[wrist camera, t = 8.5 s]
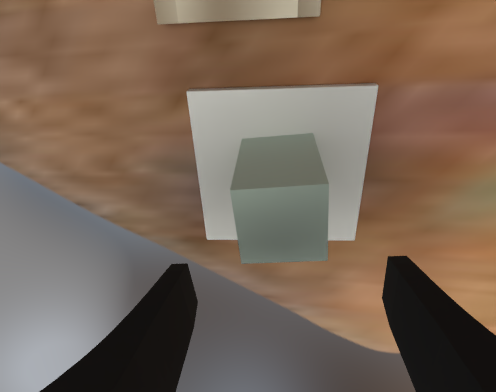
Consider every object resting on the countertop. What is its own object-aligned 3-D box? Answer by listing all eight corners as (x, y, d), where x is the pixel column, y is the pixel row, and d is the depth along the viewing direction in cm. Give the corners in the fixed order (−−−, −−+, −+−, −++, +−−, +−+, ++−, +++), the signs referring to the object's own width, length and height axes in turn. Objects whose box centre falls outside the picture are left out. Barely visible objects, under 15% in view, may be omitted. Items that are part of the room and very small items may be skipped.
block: (312, 132, 18) (328, 183, 13) (313, 194, 20) (327, 260, 15) (242, 138, 18) (229, 190, 13) (249, 198, 20) (241, 263, 15)
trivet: (375, 82, 17) (378, 85, 16) (352, 234, 22) (354, 240, 22) (188, 89, 18) (186, 91, 17) (208, 234, 23) (206, 239, 22)
